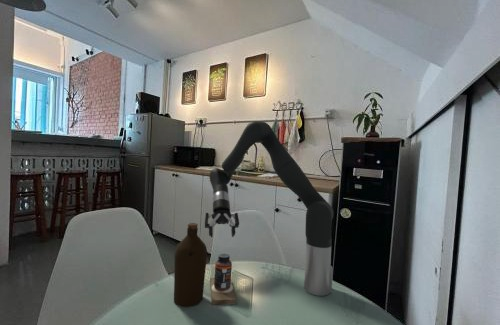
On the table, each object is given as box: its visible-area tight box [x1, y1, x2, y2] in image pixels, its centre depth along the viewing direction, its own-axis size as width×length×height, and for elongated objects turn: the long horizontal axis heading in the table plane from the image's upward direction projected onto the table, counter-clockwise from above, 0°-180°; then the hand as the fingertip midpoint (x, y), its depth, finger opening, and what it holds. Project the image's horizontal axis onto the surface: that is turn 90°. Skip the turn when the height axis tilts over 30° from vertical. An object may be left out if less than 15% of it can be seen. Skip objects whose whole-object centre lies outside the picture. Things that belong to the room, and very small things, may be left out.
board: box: [209, 277, 238, 306], centre depth 87 cm, size 8×16×2 cm, turn 11°
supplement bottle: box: [213, 253, 233, 290], centre depth 87 cm, size 6×6×11 cm
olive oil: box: [173, 222, 208, 308], centre depth 81 cm, size 11×11×25 cm
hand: (222, 236), depth 98 cm, fingers open, 8 cm apart
